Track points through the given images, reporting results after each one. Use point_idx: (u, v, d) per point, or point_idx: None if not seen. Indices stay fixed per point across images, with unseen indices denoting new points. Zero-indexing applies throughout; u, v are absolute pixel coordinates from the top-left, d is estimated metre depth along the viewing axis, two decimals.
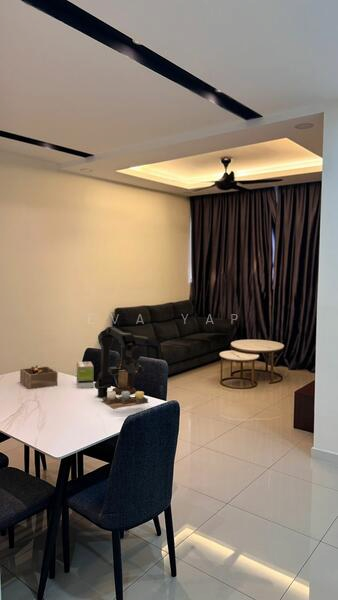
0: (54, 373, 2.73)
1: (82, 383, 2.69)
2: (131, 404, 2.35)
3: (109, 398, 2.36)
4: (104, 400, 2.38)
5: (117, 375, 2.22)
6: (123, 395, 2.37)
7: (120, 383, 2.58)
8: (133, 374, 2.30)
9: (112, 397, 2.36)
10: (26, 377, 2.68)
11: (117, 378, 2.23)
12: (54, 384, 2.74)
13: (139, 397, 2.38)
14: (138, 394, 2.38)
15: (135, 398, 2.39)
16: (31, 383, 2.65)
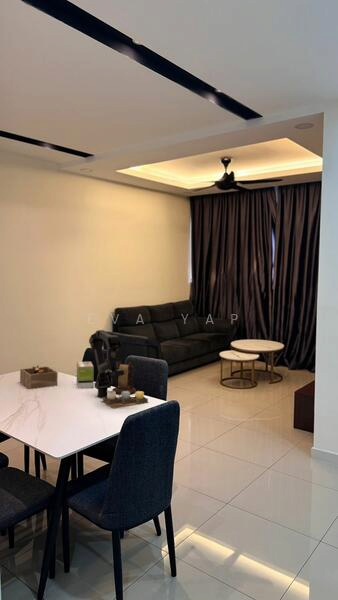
0: (54, 373, 2.73)
1: (82, 383, 2.69)
2: (131, 404, 2.35)
3: (109, 398, 2.36)
4: (104, 400, 2.38)
5: (105, 373, 2.38)
6: (123, 395, 2.37)
7: (120, 383, 2.58)
8: None
9: (112, 397, 2.36)
10: (26, 377, 2.68)
11: (108, 376, 2.39)
12: (54, 384, 2.74)
13: (139, 397, 2.38)
14: (138, 394, 2.38)
15: (135, 398, 2.39)
16: (31, 383, 2.65)
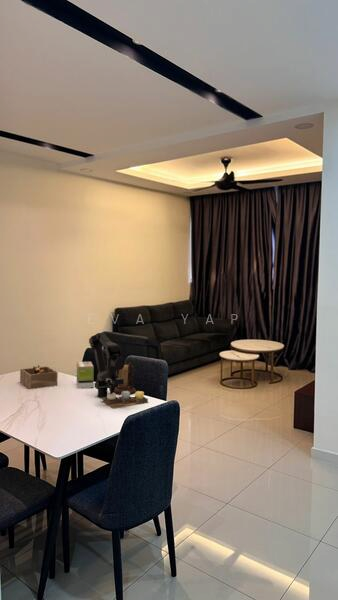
0: (54, 373, 2.73)
1: (82, 383, 2.69)
2: (131, 404, 2.35)
3: None
4: (104, 400, 2.38)
5: (106, 382, 2.38)
6: (123, 395, 2.37)
7: None
8: None
9: None
10: (26, 377, 2.68)
11: (108, 385, 2.38)
12: (54, 384, 2.74)
13: (139, 397, 2.38)
14: (138, 394, 2.38)
15: (135, 398, 2.39)
16: (31, 383, 2.65)
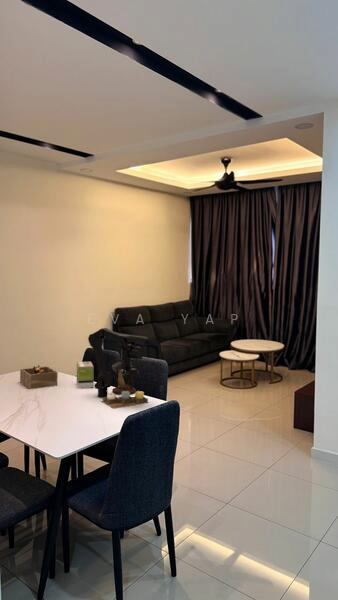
0: (54, 373, 2.73)
1: (82, 383, 2.69)
2: (131, 404, 2.35)
3: None
4: (104, 400, 2.38)
5: None
6: (123, 395, 2.37)
7: (120, 383, 2.58)
8: None
9: None
10: (26, 377, 2.68)
11: (123, 376, 2.38)
12: (54, 384, 2.74)
13: (139, 397, 2.38)
14: (138, 394, 2.38)
15: (135, 398, 2.39)
16: (31, 383, 2.65)
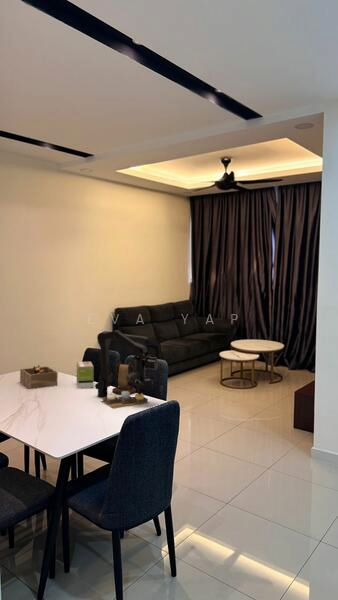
0: (54, 373, 2.73)
1: (82, 383, 2.69)
2: (131, 404, 2.35)
3: None
4: (104, 400, 2.38)
5: (134, 383, 2.39)
6: (123, 395, 2.37)
7: (120, 383, 2.58)
8: None
9: None
10: (26, 377, 2.68)
11: (136, 386, 2.40)
12: (54, 384, 2.74)
13: (139, 399, 2.38)
14: (138, 396, 2.38)
15: None
16: (31, 383, 2.65)
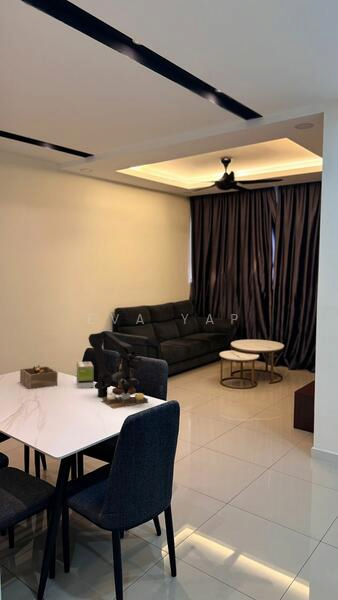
0: (54, 373, 2.73)
1: (82, 383, 2.69)
2: (131, 404, 2.35)
3: None
4: (104, 400, 2.38)
5: (120, 382, 2.39)
6: (123, 397, 2.37)
7: (120, 383, 2.58)
8: None
9: None
10: (26, 377, 2.68)
11: (122, 386, 2.39)
12: (54, 384, 2.74)
13: (139, 399, 2.38)
14: (138, 396, 2.38)
15: None
16: (31, 383, 2.65)
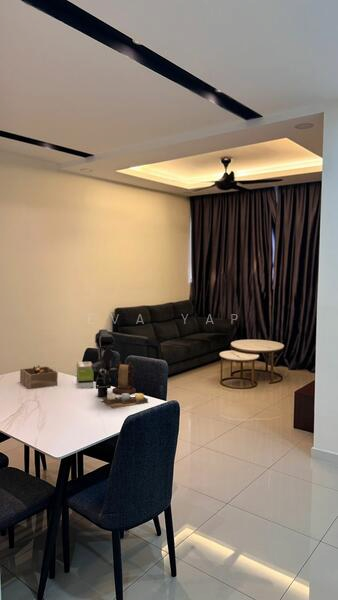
0: (54, 373, 2.73)
1: (82, 383, 2.69)
2: (131, 404, 2.35)
3: None
4: (104, 400, 2.38)
5: (100, 373, 2.35)
6: (123, 397, 2.37)
7: (120, 383, 2.58)
8: None
9: None
10: (26, 377, 2.68)
11: (102, 376, 2.36)
12: (54, 384, 2.74)
13: (139, 399, 2.38)
14: (138, 396, 2.38)
15: None
16: (31, 383, 2.65)
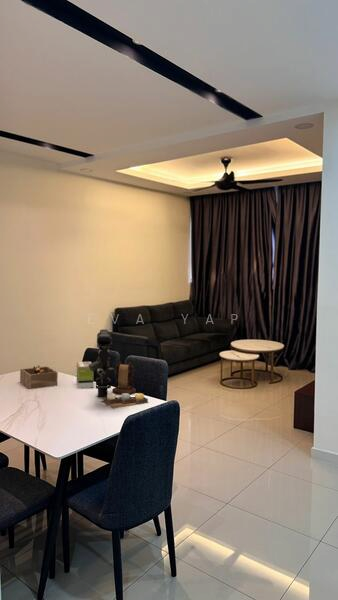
0: (54, 373, 2.73)
1: (82, 383, 2.69)
2: (131, 404, 2.35)
3: None
4: (104, 400, 2.38)
5: (98, 372, 2.35)
6: (123, 397, 2.37)
7: (120, 383, 2.58)
8: None
9: None
10: (26, 377, 2.68)
11: (100, 376, 2.36)
12: (54, 384, 2.74)
13: (139, 399, 2.38)
14: (138, 396, 2.38)
15: None
16: (31, 383, 2.65)
